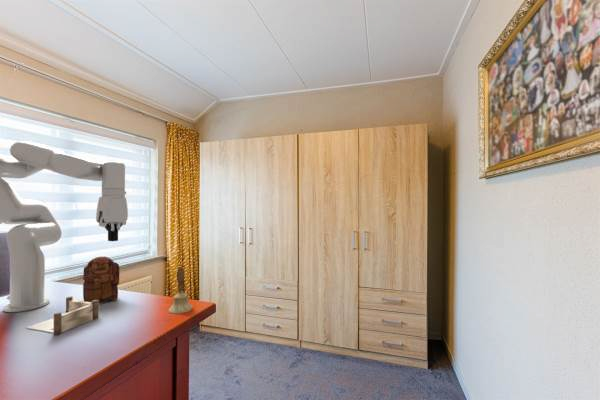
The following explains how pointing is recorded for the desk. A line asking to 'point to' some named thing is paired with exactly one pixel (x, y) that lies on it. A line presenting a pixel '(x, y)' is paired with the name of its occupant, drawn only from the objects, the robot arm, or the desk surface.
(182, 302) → the hand bell
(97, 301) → the fence fixed
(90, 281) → the wooden figurine
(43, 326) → the card
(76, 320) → the fence panel
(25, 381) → the desk surface
